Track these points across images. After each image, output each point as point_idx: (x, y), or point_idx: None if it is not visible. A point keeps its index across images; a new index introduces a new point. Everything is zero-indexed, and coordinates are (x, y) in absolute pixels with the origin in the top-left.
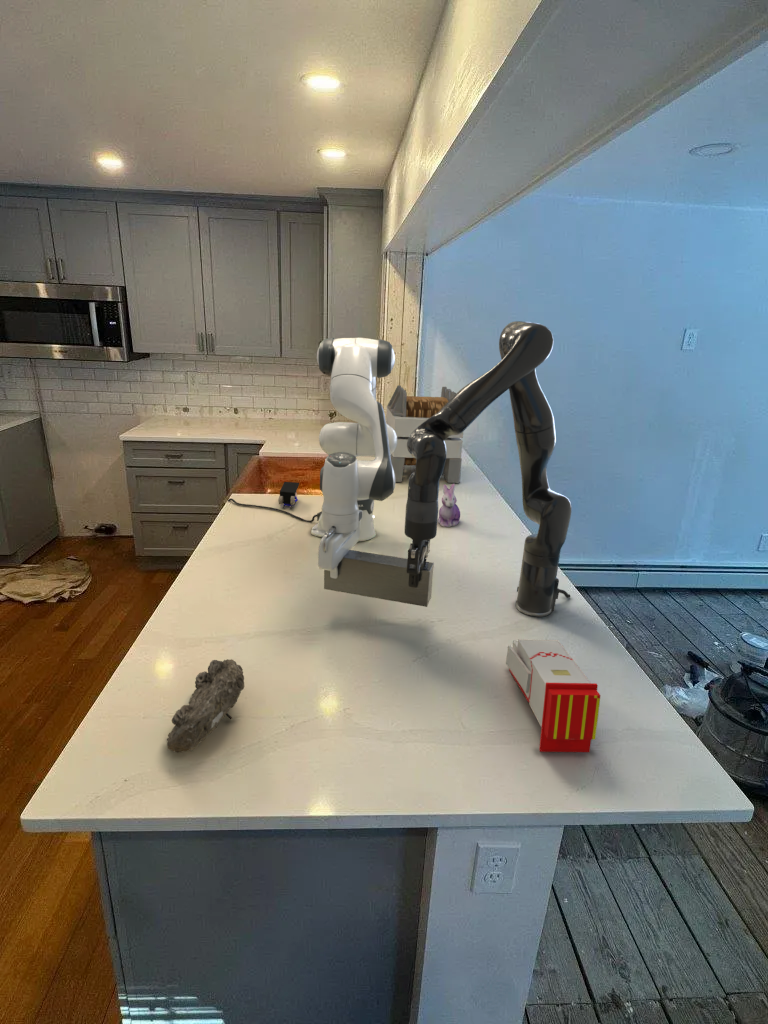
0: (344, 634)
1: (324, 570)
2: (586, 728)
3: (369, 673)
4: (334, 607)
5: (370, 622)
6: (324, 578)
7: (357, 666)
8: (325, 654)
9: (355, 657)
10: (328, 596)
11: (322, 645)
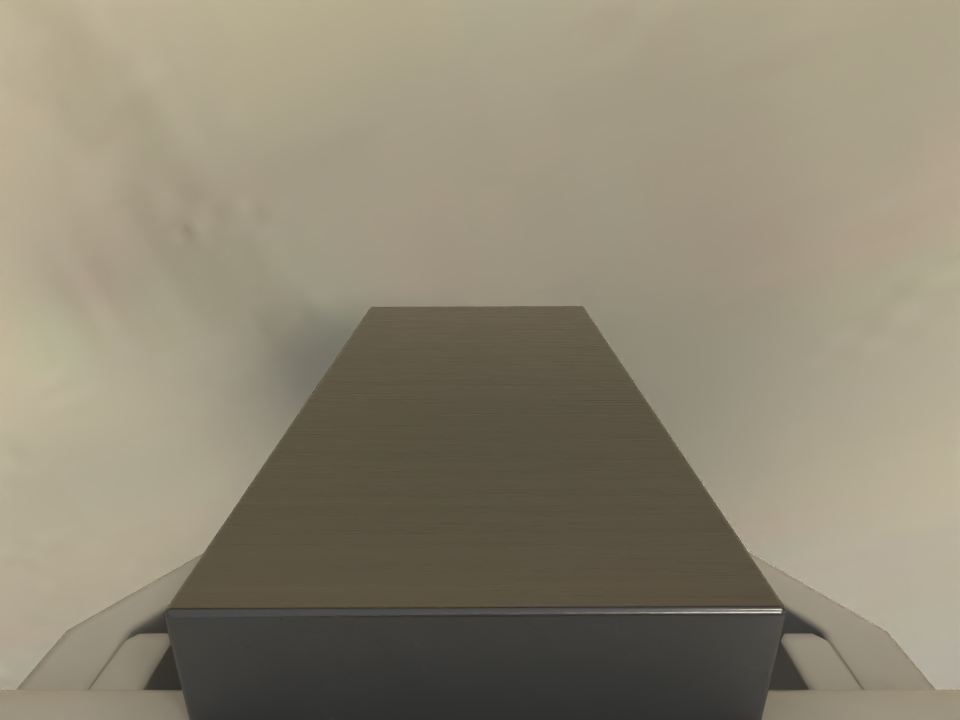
0: (264, 443)
1: (308, 403)
2: None
3: (23, 637)
4: (549, 277)
5: None
6: (344, 353)
7: (37, 581)
8: (29, 416)
9: (97, 554)
10: (699, 173)
11: (95, 370)
